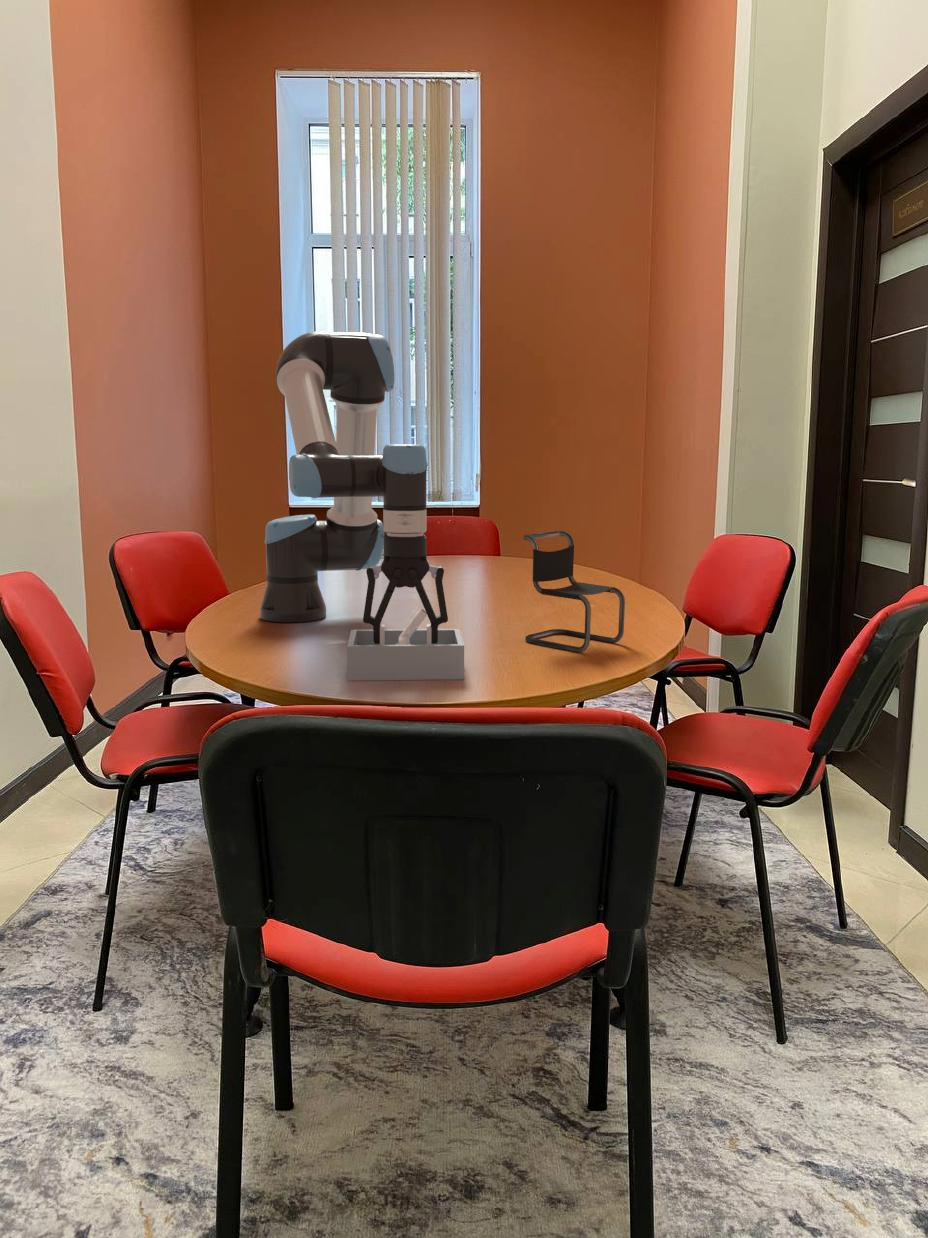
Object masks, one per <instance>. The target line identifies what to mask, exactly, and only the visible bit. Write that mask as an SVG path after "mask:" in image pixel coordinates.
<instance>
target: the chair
mask: <svg viewBox="0 0 928 1238" xmlns="http://www.w3.org/2000/svg"><path fill="white" fill-rule="evenodd" d="M553 537H564V538H566V540H567V543H568V547H566V548H563V549H560V550H553V551H551V550H550V551H543V550H540V549H539V543H538V542H537V539H544V538H553ZM522 538H523V540H524V541H527V542H530V543H531V545H532V547H533V548H532V584H533V586H534V588H535V590H536V592H537V593H539V594H541V595H544V596H551V597H557V598H564V599H570V600H577V601H578V600H579V601H581V602H582V604H583V605H584V607H585V608H584V609H585V610H584V611H585V612H584V613H585V614H584V632H583V631H582V632H581V631H576V630H575V631H574V630H569V629H564V628H561V629H560V628H556V629H547V630H544V631H540V632H536V633H531V634H528V635H526V636H525V637H524V638H525V641H526V642H527V643H529V644H533V645H539V646H543V647H549V648H554V649H558V650H563V649H566V650H565V651H568V650H570V651H569V652H573V651H575V652H574V653H583V652H585V651H586V650H587V649H588V648H589V646H590V642H591V640H593V641H597V642H605V643H610V644H616V643H618V642H620V641H621V640H622V638H623V636H624V632H625V607H626V600H625V599H626V598H625V596H624V593H623V592H622V591H621V589H618V588H617V587H615V586H614V587H613V586H607V585H601V584H595V583H594V584H593V583H586V582H581V581H580V582H579V581H576V579H575V577H574V559H575V558H574V557H575V543H574V539H573V537H572V535H571V534H570V533H569V532H567V531H565V530H564V531H563V530H557V531H555V530H554V531H548V532H547V531H546V532H536V533H527V534H524V535H523V537H522ZM566 578H568V582H569V583H570V585H568V586H563V587H559V588H542V587H541V586H540V583H542V582H552V581H558V580H563V579H566ZM602 593H609V594H610V593H612V594H615V595H616V596H617V597H618V601H619V606H618V607H619V609H618V610H619V611H618V633H617V635H616V636H615V637H611V636H610V637H609V636H604V635H598V634H592V633H591V623H592V621H591V619H592V618H591V617H592V608H591V607H592V606H591V603H590V601H589V598H587V597H586V596H592V595H598V594H602ZM552 635H566V636H571V637H577V638H582V639H584V641H583V644H582V645H581V646H575V645H570V644H563V643H560V642H554V641H551V640H550V641H549V640H544V639H540V638H542V637H547V636H548V637H549V636H552Z"/></svg>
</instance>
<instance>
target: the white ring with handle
mask: <svg viewBox="0 0 928 1238" xmlns="http://www.w3.org/2000/svg"><path fill="white" fill-rule="evenodd" d="M427 616H428V615H427V613H426V611H425V609H424V608H420V609H419V610H418V611H417V612H416V613H415V615H414V616H413V617H412V619H411V620H410V621H409V623H408V624H407V625H406V627H405V628H404V631H403V632H402V633H401V635H400V636H399V638H398V644H397V643H396V645H410V641H409V640H410V637H411V636H412V634H413V633H414V632H415V631H416V629H418V628H419V626H420V625H422V622H423V621H424V620H425V619H426V617H427Z"/></svg>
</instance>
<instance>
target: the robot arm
mask: <svg viewBox="0 0 928 1238" xmlns="http://www.w3.org/2000/svg"><path fill="white" fill-rule="evenodd" d="M278 357H279V358H278V360H277V364H276V368H275V379H276V384H277V387H278V390H279V391H280V393H281V394H282V396H284V398H285V402H286V408H287V413H288V414H287V415H288V418H289V422H290V427H291V428H290V429H291V433H292V437H293V442H294V443H293V444H294V447H295V452H296V454H293V455H291V457H290V459H289V460H288V480H289V490H290V492H291V494H292V495H293V496H294V497H297V498H311V499H317V498H333V506H332V507H331V508H330V509H328V510H327V511H326V520H318V518H317V516H316V515H315V514H309V513H308V514H300V515H299V514H296V515H290V516H283V517H280V518H276V519H272V520H270V521H268V522H267V524H266V525H265V533H264V535H265V537H264V539H265V540H264V541H263V542H264V544H265V563H266V564H265V565H266V566H265V567H266V568H265V569H266V572H265V573H266V586H265V590H264V594H263V596H262V597H263V598H262V600H261V604H260V607H259V613H260V614H259V617H260V619H261V620H264V621H267V622H273V623H306V622H312V621H313V622H314V621H318V620H321V619H324V618H326V617H327V606H326V602H325V600H324V597H323V595H322V592H321V588H320V586H319V579H318V578H319V577H318V576H319V575H318V572H327V571H329V572H330V571H335V572H337V571H361V570H366V577H367V581H368V582H367V590H366V596H365V603H364V610H363V616H362V617H363V618H362V622H363V623H364V624H367V625H371V627H372V630H373V640H374V644H380V645H385V634H384V629H385V624H381V623H382V620H383V618H384V616H385V613H386V611H387V609H388V605H389V604H390V602H391V599H392V596H393V594H394V592H395V589H396V588H400V589H401V588H404V587H407V588H409V589H410V588H412V589H413V588H415V589H416V592H417V594H418V597H419V599H420V602H421V603H422V605H423V609H424V611H425V612H426V613H427V615H426V616H427V617H428V620H429V622H430V623H427V624H426V629H427V645H430V644H436V643H437V642H438V629H439V627H440V625H441V624H446V623H447V622H448V621H449V616H448V610H447V604H446V598H445V592H444V591H445V590H444V585H443V579H444V573H445V569H444V567H443V566H441V565H439V566H435V565H431V564H430V563H429V562H428V559H427V557H428V556H427V554H428V553H427V551H428V550H427V547H428V546H427V543H428V542H427V541H428V540H427V537H426V535H425V534H424V533H426V532H427V529H428V528H427V527H428V525H427V521H428V520H427V517H428V515H427V513H428V512H427V480H428V479H427V475H428V473H427V471H428V470H427V469H428V467H429V466H428V462H427V451H426V447H425V446H423V445H422V444H407V443H406V444H393V443H392V444H390V443H389V444H386V445H385V446H383V448H382V454H375V451H376V449H375V448H376V435H377V433H376V432H377V429H376V428H377V415H378V414H377V413H378V412H377V411H378V407H379V406H381V405H382V404H383V403H384V402H385V399H386V398H385V397H386V393H389V392H391V391H393V390H394V385H395V368H394V367H395V365H394V358H393V354H392V348H391V346H390V342H389V341H388V340H387V338H386V337H385V336H383V335H381V334H373V333H367V332H344V331H343V332H341V331H339V332H338V331H337V332H335V331H334V332H333V331H328V332H327V331H316V330H315V331H309V332H307V333H304V334H301V335H299V336H298V337H296V338H295V339H293V340H291V341H290V342H289V343H288V344H287V345H286V346H285V348H284V349H283V350H282V352H281V354H280V356H278ZM324 390H327V391H328V390H329V391H330V395H329V396H330V399H332V401H333V402H334V403H335V404H336V407H337V408H336V433H335V432H334V430H333V424H332V421H331V417H330V413H329V409H328V405H327V401H326V397H325V394H324V393H325V392H324ZM335 434H336V435H335ZM374 497H377V498H378V497H380V498H381V497H382V499H383V505H382V506H383V507H382V508H383V509H382V510H383V511H382V513H383V514H382V515H383V517H382V518H383V519H382V520H380V519H378V514H377V512H376V511H375V510H374V509H373V508H372V505H373V504H372V503H373V498H374ZM382 521H383V522H382ZM385 533H386V535H385ZM382 555H383V561H382V562H381V564H380V565H378V564H379V563H380V560H381V558H382ZM428 572H429V573H431V577H432V579H434V581H435V589H436V596H437V601H438V602H437V603H438V609H439V615H438V616H436V614H435V610H434V609H433V606H432V603H431V601H430V600H429V596H428V595H427V592H426V590H425V588H424V584H423V582H422V581H423V579H424V578H425V577H426V575H427V574H428ZM381 573H383V574H384V576H385V578H386V579H387V580H388V581H389V582H388V584H387V587H386V590H385V591H384V594H383V596H382V598H381V601H380V603H379V607H378V608H377V611H376V614H375V616H373V615H371V614H372V607H373V602H374V601H373V600H374V594H375V586H376V580H377V579H379V577H380V574H381Z"/></svg>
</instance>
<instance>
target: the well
mask: <svg viewBox="0 0 928 1238" xmlns="http://www.w3.org/2000/svg"><path fill="white" fill-rule="evenodd" d="M404 629H405V628H404ZM404 629H401V628H400V629H397V628H396V629H393V628H392V629H391V628H390V629H388V628H387V629H385V628H384V634H385V645H380V644H374V640H373V629H351V630H350V634H349V638H348V641H347V645H346V657H347V658H346V661H347V665H346V669H347V681H349V682H350V681H353V682H355V681H358V682H360V681H425V680H427V681H432V680H435V681H436V680H438V681H439V680H440V681H442V680H446V681H447V680H465V643H464V640H463V637H462V633H461V630H460V629H459V628H438V642H437V643H436V644H430V645H427V628H419V629H418V628H417V629H416V631H415V632H414V633H413V634H412V636H411V637H410V640H409V641H410V645H396V643H397V644H398V638H399V636H400V635H401V633H402V632H403V631H404Z"/></svg>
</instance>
